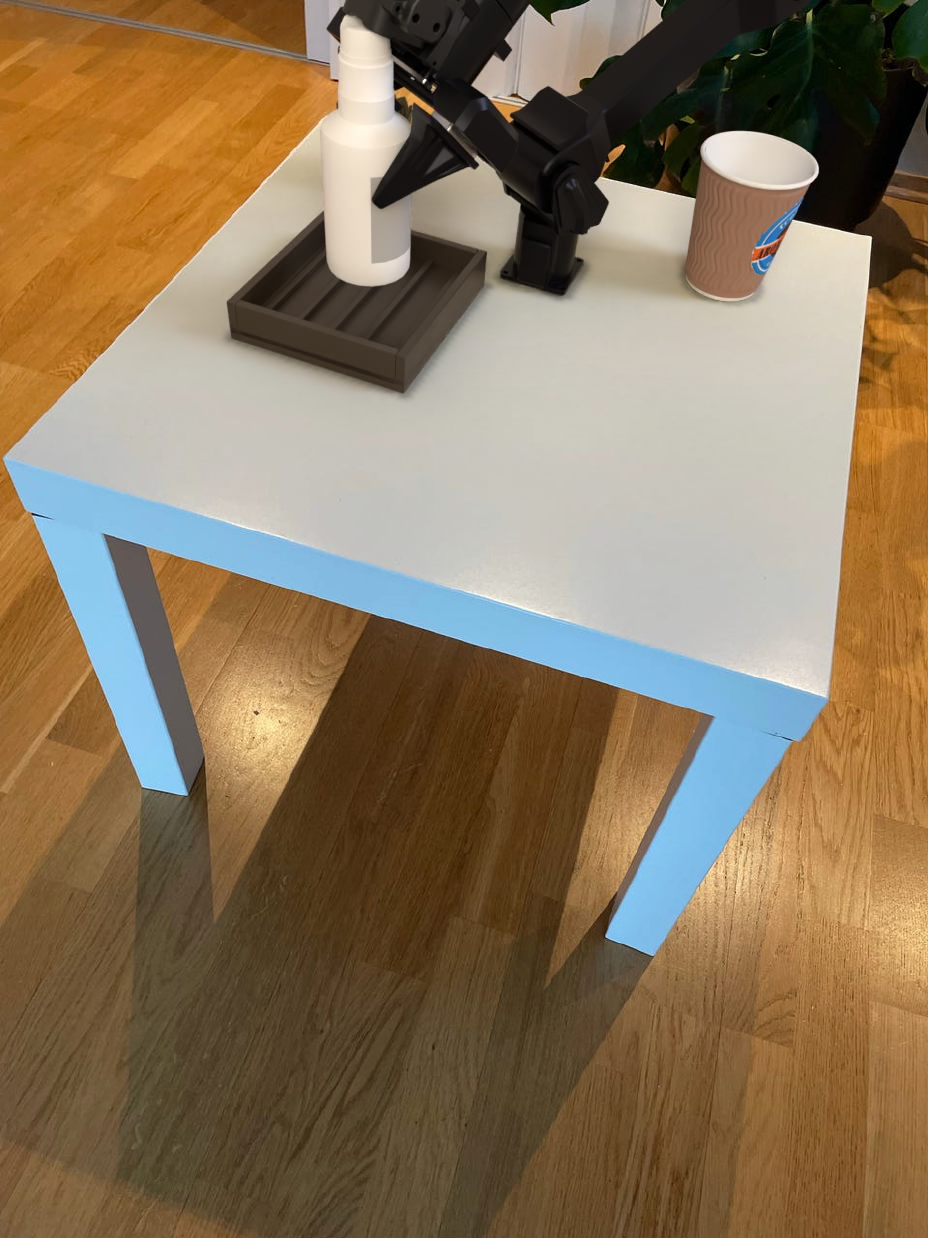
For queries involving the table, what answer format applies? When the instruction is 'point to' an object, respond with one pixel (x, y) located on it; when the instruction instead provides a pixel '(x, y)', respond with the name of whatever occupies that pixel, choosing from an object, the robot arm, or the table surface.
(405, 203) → the spray bottle
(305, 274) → the ribbed square tray
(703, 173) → the coffee cup
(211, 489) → the table surface
